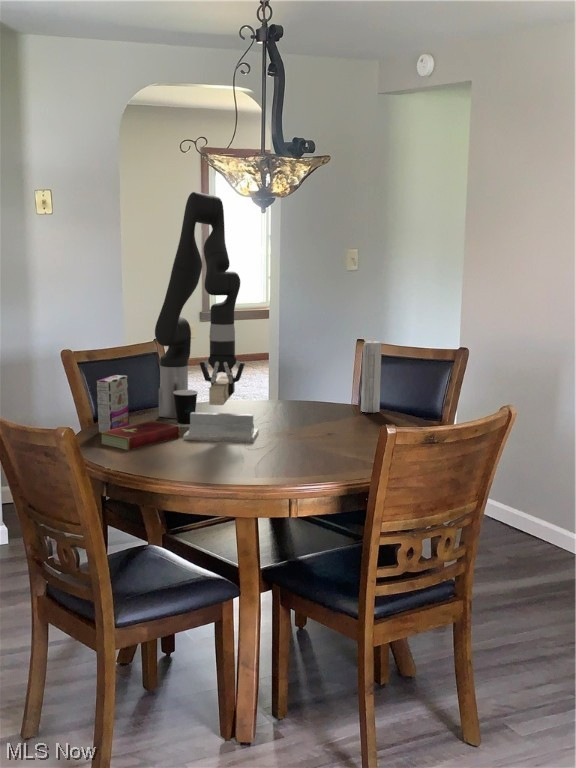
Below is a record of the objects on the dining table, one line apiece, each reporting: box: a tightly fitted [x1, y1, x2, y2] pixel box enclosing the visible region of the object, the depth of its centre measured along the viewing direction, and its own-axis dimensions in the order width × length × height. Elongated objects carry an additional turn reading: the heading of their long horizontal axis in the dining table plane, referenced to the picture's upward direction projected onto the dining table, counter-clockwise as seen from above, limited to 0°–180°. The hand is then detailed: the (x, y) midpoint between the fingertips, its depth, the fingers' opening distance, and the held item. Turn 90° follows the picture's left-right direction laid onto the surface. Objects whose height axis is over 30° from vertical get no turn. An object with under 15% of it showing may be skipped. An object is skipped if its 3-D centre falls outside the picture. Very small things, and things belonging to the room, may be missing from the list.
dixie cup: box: [173, 389, 199, 428], centre depth 269 cm, size 8×8×11 cm
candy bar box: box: [96, 374, 130, 433], centre depth 262 cm, size 11×5×16 cm, turn 161°
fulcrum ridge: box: [183, 411, 259, 444], centre depth 256 cm, size 21×12×7 cm, turn 85°
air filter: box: [360, 340, 382, 413], centre depth 294 cm, size 6×6×25 cm
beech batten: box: [208, 375, 236, 406], centre depth 254 cm, size 22×4×5 cm, turn 175°
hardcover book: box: [99, 420, 181, 451], centre depth 250 cm, size 12×21×4 cm, turn 144°
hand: (222, 394), depth 254 cm, fingers closed on beech batten, 4 cm apart
